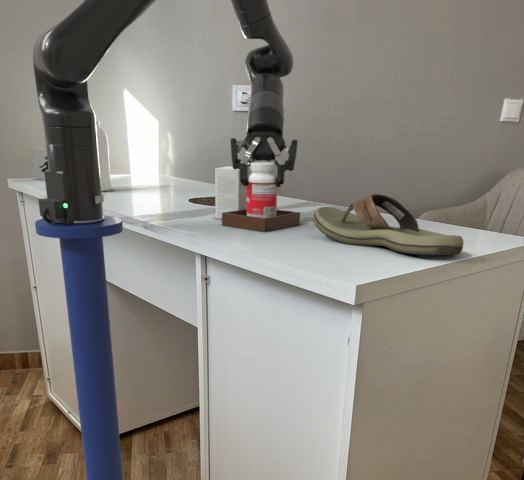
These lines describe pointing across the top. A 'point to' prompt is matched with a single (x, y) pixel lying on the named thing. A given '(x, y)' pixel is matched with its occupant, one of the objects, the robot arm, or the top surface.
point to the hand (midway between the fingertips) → (261, 183)
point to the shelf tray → (260, 220)
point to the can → (103, 157)
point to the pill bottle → (262, 191)
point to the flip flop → (383, 228)
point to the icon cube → (39, 162)
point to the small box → (229, 190)
